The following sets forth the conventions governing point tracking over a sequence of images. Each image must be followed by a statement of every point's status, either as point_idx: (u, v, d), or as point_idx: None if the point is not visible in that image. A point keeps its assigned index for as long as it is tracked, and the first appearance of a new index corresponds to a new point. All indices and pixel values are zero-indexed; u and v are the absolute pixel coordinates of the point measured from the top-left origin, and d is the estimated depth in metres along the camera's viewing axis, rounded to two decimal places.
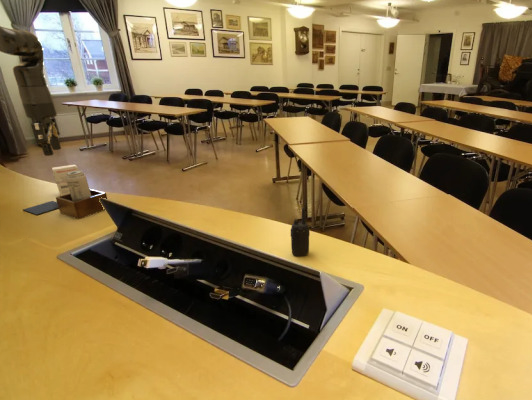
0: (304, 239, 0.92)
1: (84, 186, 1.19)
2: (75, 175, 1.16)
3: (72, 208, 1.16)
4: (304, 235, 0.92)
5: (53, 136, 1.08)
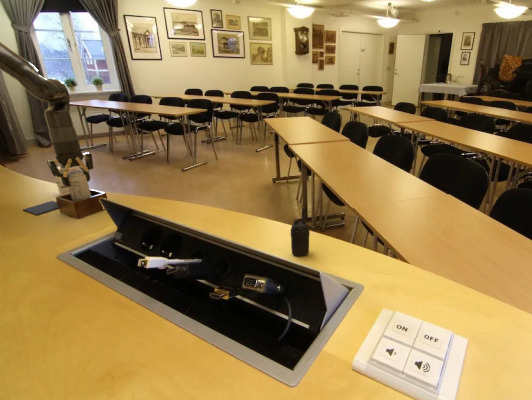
0: (304, 239, 0.92)
1: (84, 186, 1.19)
2: (75, 175, 1.16)
3: (72, 208, 1.16)
4: (304, 235, 0.92)
5: (83, 169, 1.21)
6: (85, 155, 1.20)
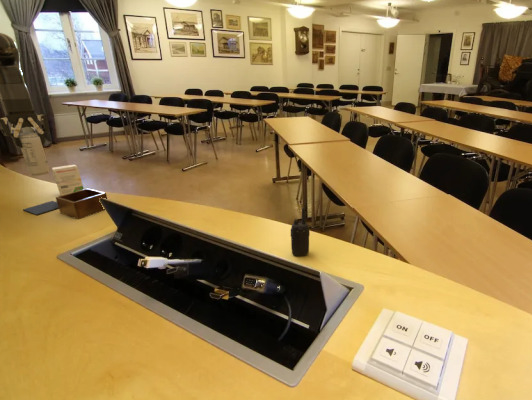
0: (304, 239, 0.92)
1: (38, 148, 1.15)
2: (27, 136, 1.12)
3: (72, 208, 1.16)
4: (304, 235, 0.92)
5: (38, 131, 1.17)
6: (39, 116, 1.16)
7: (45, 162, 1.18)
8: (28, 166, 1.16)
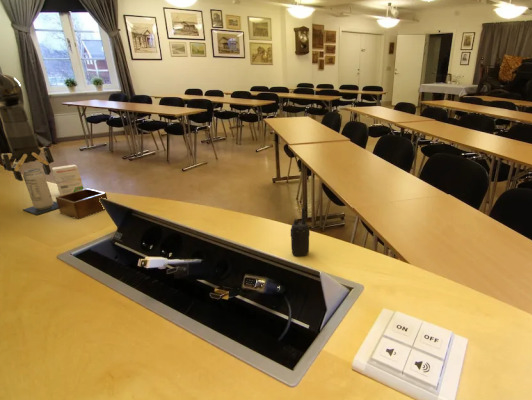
0: (304, 239, 0.92)
1: (42, 184, 1.21)
2: (32, 173, 1.18)
3: (72, 208, 1.16)
4: (304, 235, 0.92)
5: (43, 163, 1.22)
6: (42, 149, 1.21)
7: (49, 196, 1.24)
8: (33, 201, 1.21)
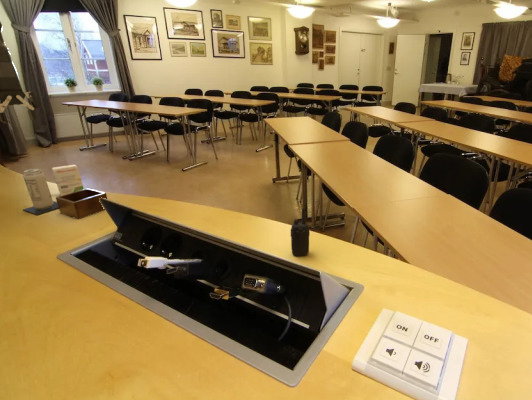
0: (304, 239, 0.92)
1: (42, 184, 1.21)
2: (32, 173, 1.18)
3: (72, 208, 1.16)
4: (304, 235, 0.92)
5: (29, 108, 1.23)
6: (27, 94, 1.22)
7: (49, 196, 1.24)
8: (33, 201, 1.21)
